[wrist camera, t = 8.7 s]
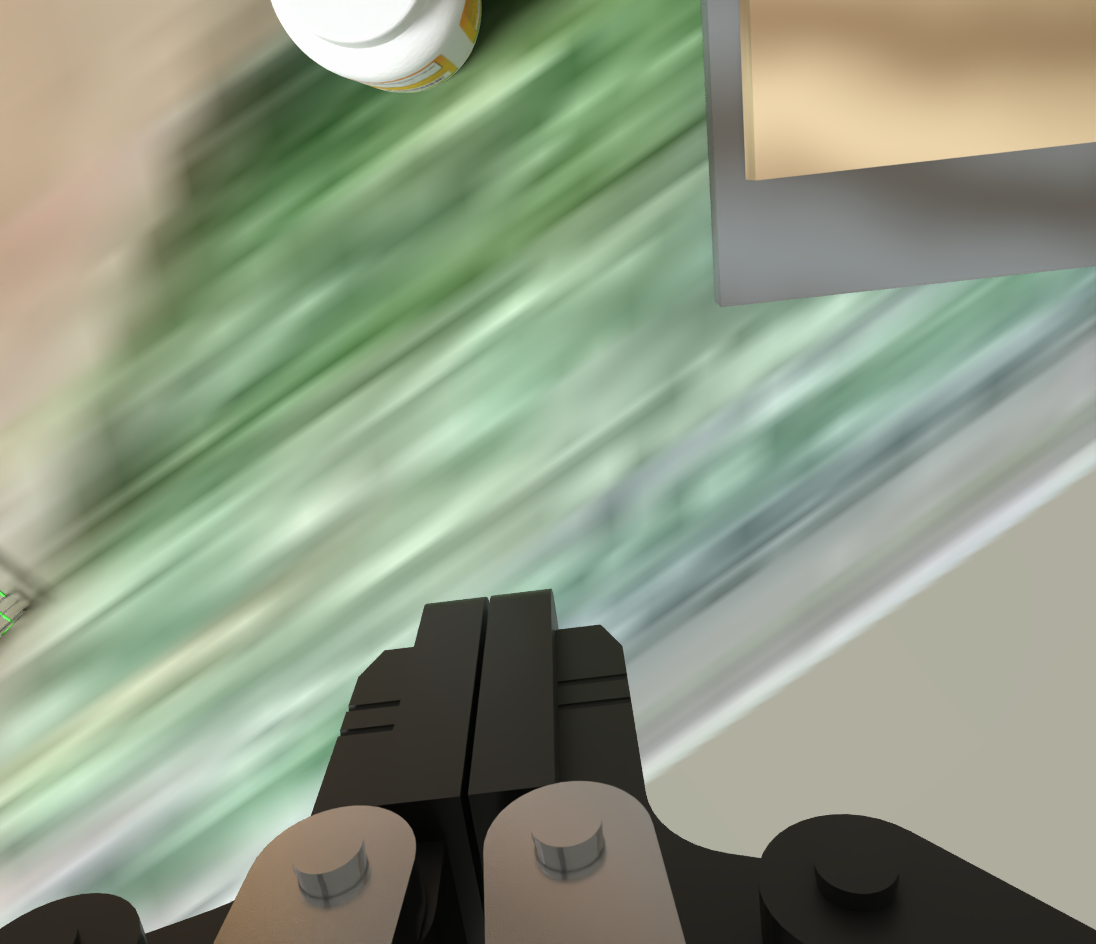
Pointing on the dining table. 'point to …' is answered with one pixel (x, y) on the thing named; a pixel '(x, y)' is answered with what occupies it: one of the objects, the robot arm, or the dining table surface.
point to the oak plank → (911, 81)
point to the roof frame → (11, 621)
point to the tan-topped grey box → (882, 208)
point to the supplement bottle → (385, 38)
